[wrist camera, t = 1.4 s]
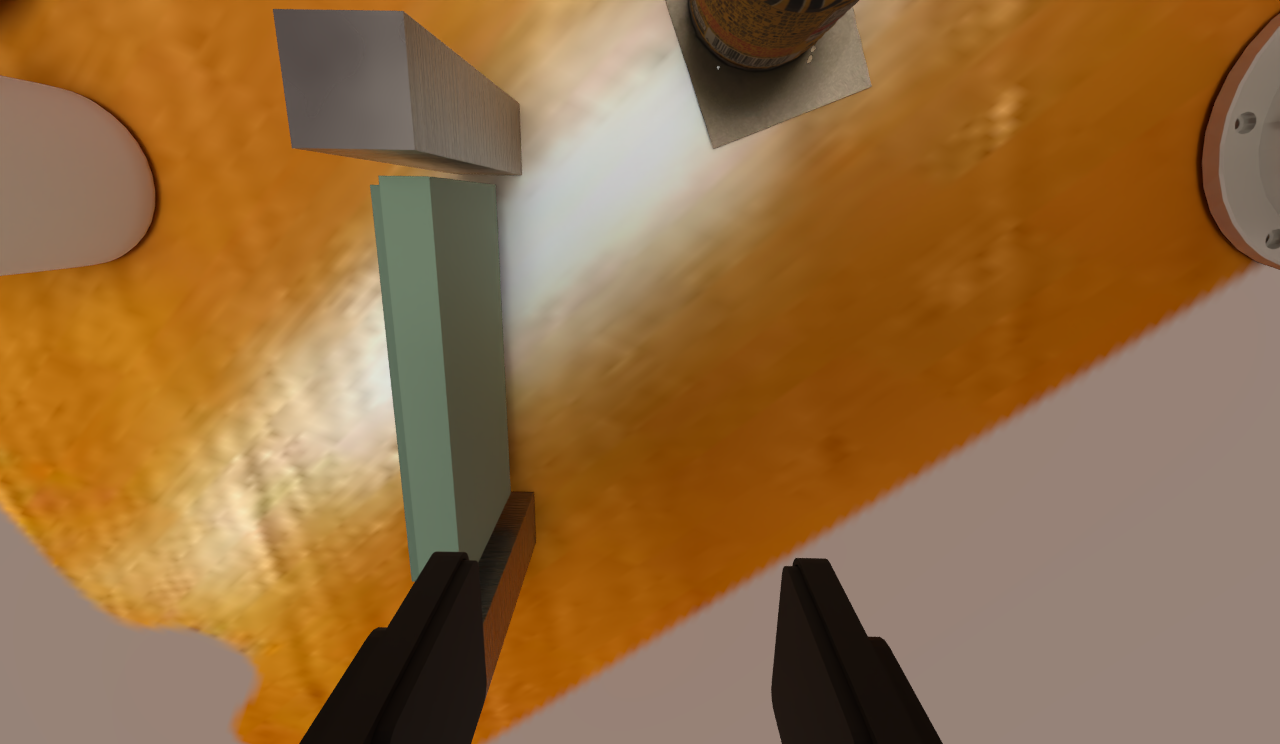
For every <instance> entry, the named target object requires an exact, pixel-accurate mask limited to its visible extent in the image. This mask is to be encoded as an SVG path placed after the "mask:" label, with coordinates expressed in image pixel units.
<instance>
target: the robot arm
mask: <svg viewBox="0 0 1280 744" xmlns="http://www.w3.org/2000/svg"><path fill="white" fill-rule="evenodd" d="M1202 172H1203V187H1204V191H1205V195H1206V198H1207V202H1208V206H1209V209H1210V212H1211V214H1212V216H1213V218H1214V220H1215V221H1216V223H1217V225H1218V227H1219V228H1220V230H1221V232H1222V233H1223V234H1224V236H1225V237H1226V238H1227V239H1228V240H1229V241H1230V242H1231V243H1232V244H1233V245H1234V246H1235V247H1236V248H1237V249H1238V250H1239V251H1241V252H1242V253H1244V254H1245V255H1247V256H1249V257H1250V258H1252V259H1253V260H1255V261H1256V262H1259V263H1262V264H1264V265H1267V266H1270V267H1273V268H1276V269H1279V270H1280V13H1279V14H1278V15H1277V16H1276V17H1274V18H1273V19H1272V20H1271V21H1270V22H1269V23H1268V24H1267V25H1266V26H1265V28H1264V29H1263V30H1262V31H1261V32H1260V33H1259V34H1258V35H1257V36H1256V37H1255V38H1254V40H1253V41H1252V42H1251V43H1250V44H1249V45H1248V46H1247V48H1246V49H1245V51H1244V52H1243V54H1242V55H1241V56H1240V58H1239V59H1238V61H1237V62H1236V64H1235V65H1234V67H1233V68H1232V70H1231V71H1230V73H1229V74H1228V76H1227V78H1226V80H1225V82H1224V84H1223V86H1222V89H1221V91H1220V93H1219V95H1218V97H1217V99H1216V101H1215V103H1214V106H1213V109H1212V113H1211V116H1210V119H1209V123H1208V126H1207V129H1206V132H1205V140H1204V148H1203V156H1202ZM486 686H487V678H486V663H485V649H484V634H483V620H482V605H481V591H480V576H479V565H478V562H477V561H476V560H469V557H468V554H467V553H466V552H439V551H436V552H434V553H433V554H432V555H431V557H430V558H429V560H428V562H427V563H426V565H425V566H424V568H423V570H422V571H421V573H420V575H419V576H418V578H417V580H416V581H415V583H414V584H413V586H412V588H411V589H410V591H409V593H408V594H407V596H406V598H405V599H404V601H403V603H402V604H401V606H400V607H399V609H398V611H397V612H396V614H395V616H394V617H393V619H392V621H391V622H390V624H389V626H388V627H387V628H382V627H378V628H376V629H375V630H373V631H372V632H371V634H370V635H369V636H368V637H367V639H366V640H365V642H364V643H363V645H362V647H361V648H360V650H359V651H358V653H357V654H356V656H355V658H354V659H353V661H352V662H351V664H350V665H349V667H348V668H347V670H346V672H345V673H344V675H343V676H342V678H341V679H340V681H339V682H338V684H337V686H336V687H335V689H334V690H333V692H332V693H331V695H330V697H329V698H328V700H327V701H326V703H325V704H324V706H323V707H322V709H321V711H320V712H319V714H318V715H317V717H316V718H315V720H314V721H313V723H312V725H311V726H310V728H309V729H308V731H307V732H306V734H305V736H304V737H303V739H302V740H301V742H300V743H299V744H471V742H472V739H473V736H474V732H475V729H476V726H477V723H478V720H479V717H480V714H481V711H482V708H483V704H484V701H485V696H486ZM771 691H772V692H771V693H772V703H773V709H774V714H775V718H776V722H777V726H778V730H779V733H780V738H781V742H782V744H943V743H942V742H941V740H940V738H939V736H938V734H937V732H936V731H935V729H934V727H933V725H932V723H931V722H930V720H929V718H928V716H927V714H926V712H925V711H924V709H923V707H922V705H921V703H920V702H919V700H918V698H917V696H916V694H915V693H914V691H913V689H912V687H911V685H910V683H909V682H908V680H907V678H906V676H905V675H904V673H903V671H902V669H901V667H900V665H899V663H898V662H897V660H896V658H895V656H894V655H893V653H892V651H891V649H890V647H889V646H888V644H887V643H886V641H885V640H884V639H882V638H881V637H868V636H867V634H866V633H865V630H864V628H863V626H862V625H861V623H860V621H859V619H858V617H857V615H856V613H855V611H854V609H853V607H852V605H851V603H850V602H849V599H848V597H847V595H846V593H845V591H844V589H843V588H842V586H841V584H840V582H839V580H838V578H837V576H836V574H835V572H834V570H833V568H832V566H831V564H830V562H829V561H828V560H827V559H816V558H796V559H795V560H794V562H793V566H784V568H783V572H782V580H781V592H780V602H779V612H778V622H777V633H776V644H775V655H774V666H773V676H772V687H771Z"/></svg>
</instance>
